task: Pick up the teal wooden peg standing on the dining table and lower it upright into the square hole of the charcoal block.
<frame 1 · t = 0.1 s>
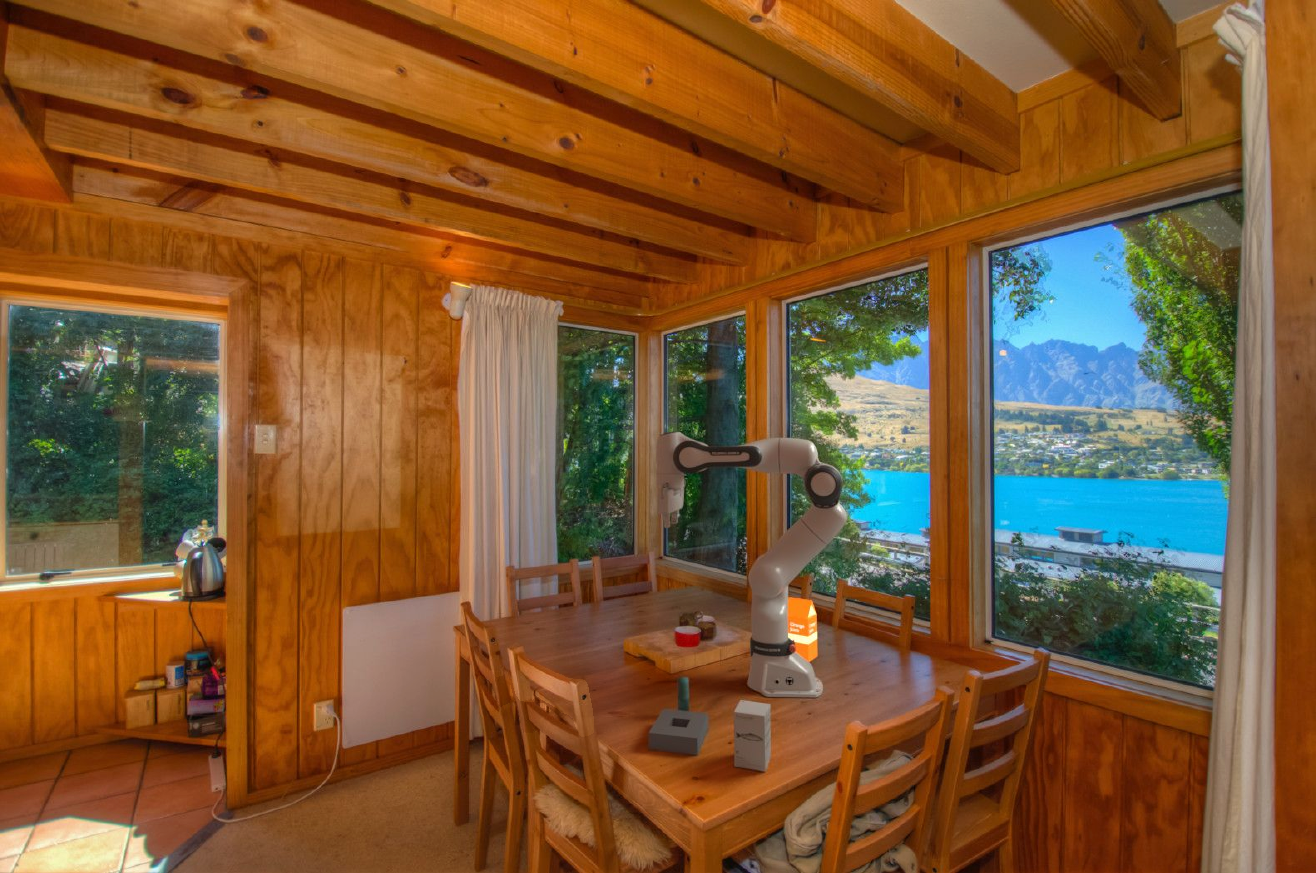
hand: (670, 525, 194), 48 cm above the table, tool pointing down, fingers open, 8 cm apart
teal peg: (683, 715, 165), on the table
hole block: (679, 738, 152), on the table
orange juice: (801, 657, 210), on the table
supplement box: (753, 763, 140), on the table
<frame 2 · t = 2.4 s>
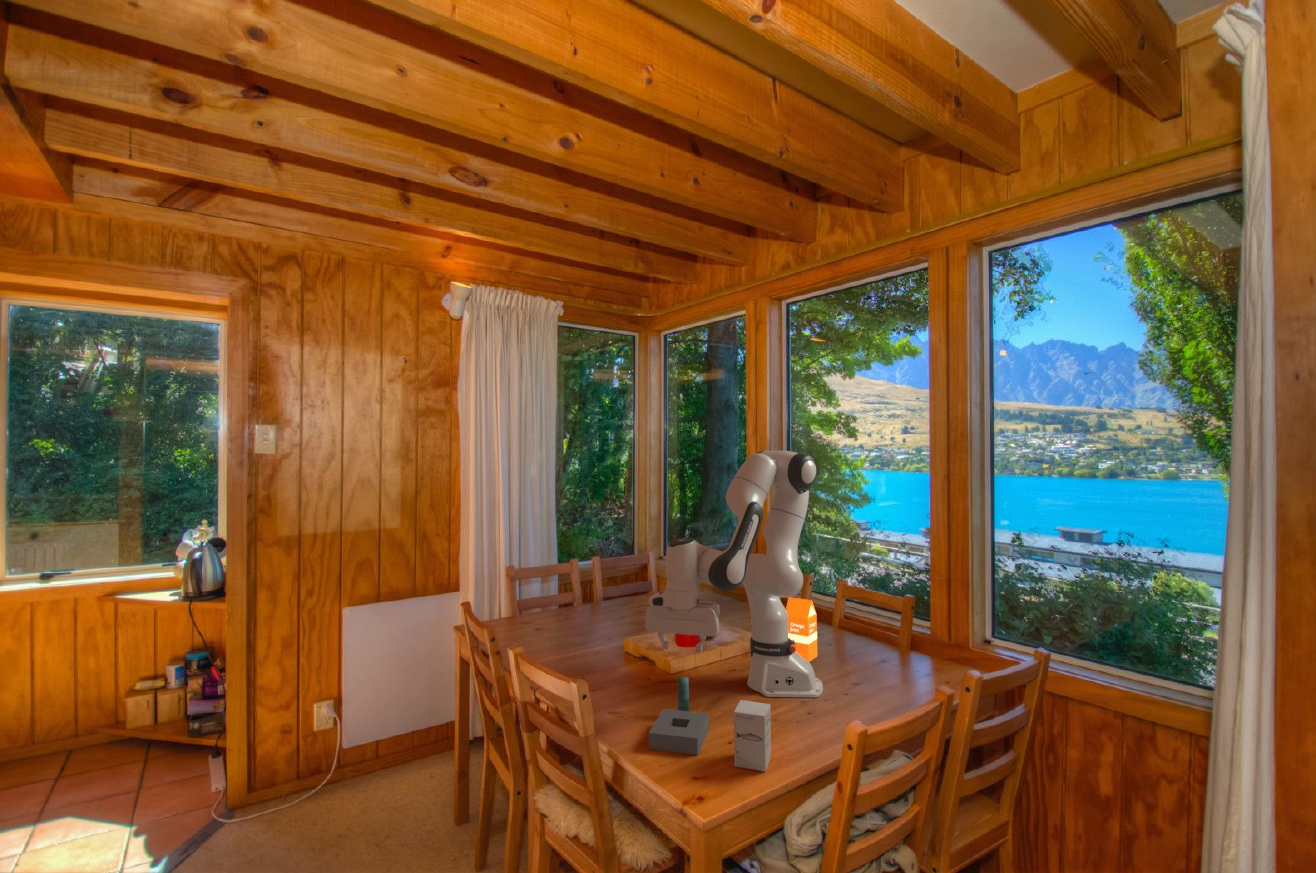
hand: (682, 649, 165), 18 cm above the table, tool pointing down, fingers open, 8 cm apart
nothing on the table moved.
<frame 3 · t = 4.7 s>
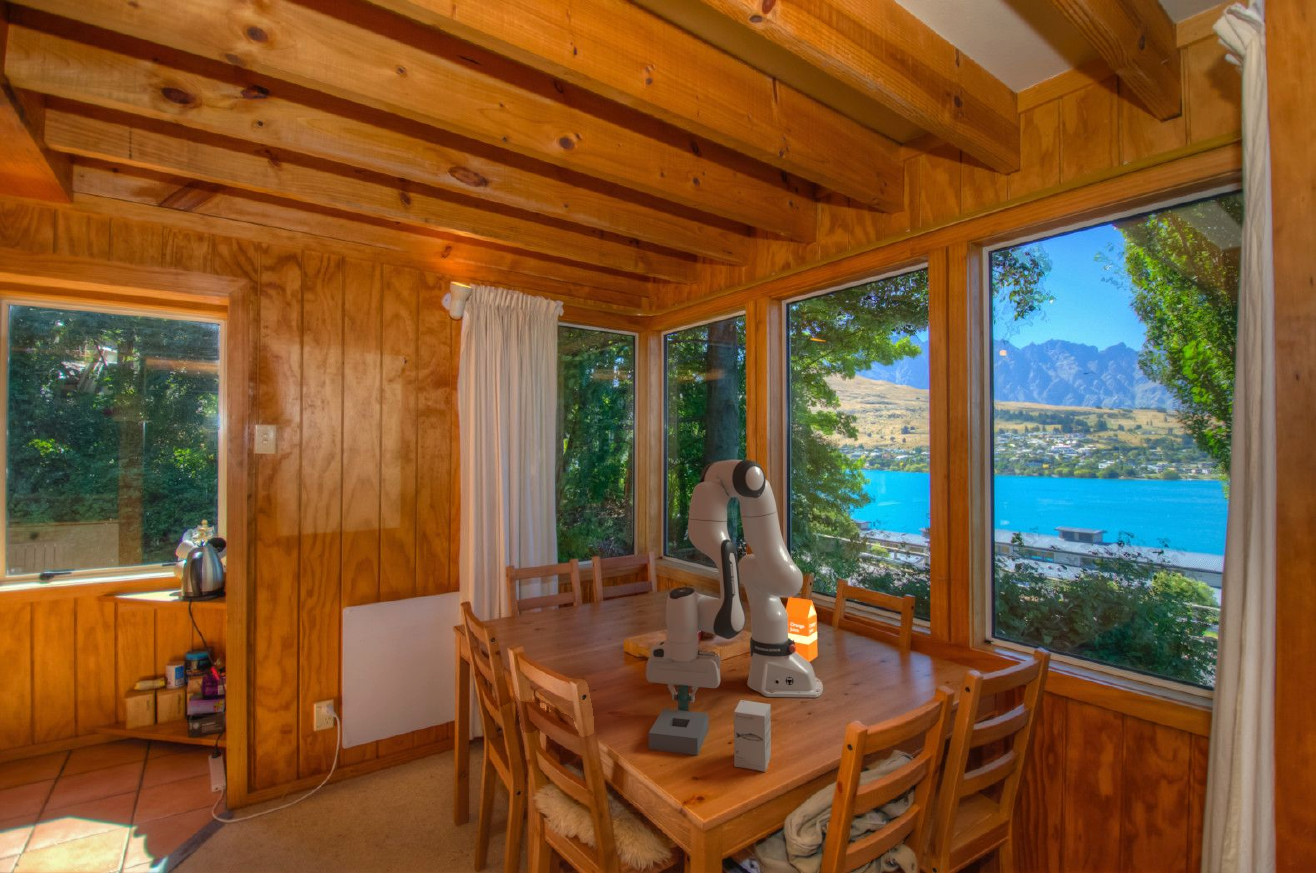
hand: (683, 700, 165), 4 cm above the table, tool pointing down, fingers closed on teal peg, 3 cm apart
teal peg: (683, 715, 165), on the table, touching gripper
everything else where it was.
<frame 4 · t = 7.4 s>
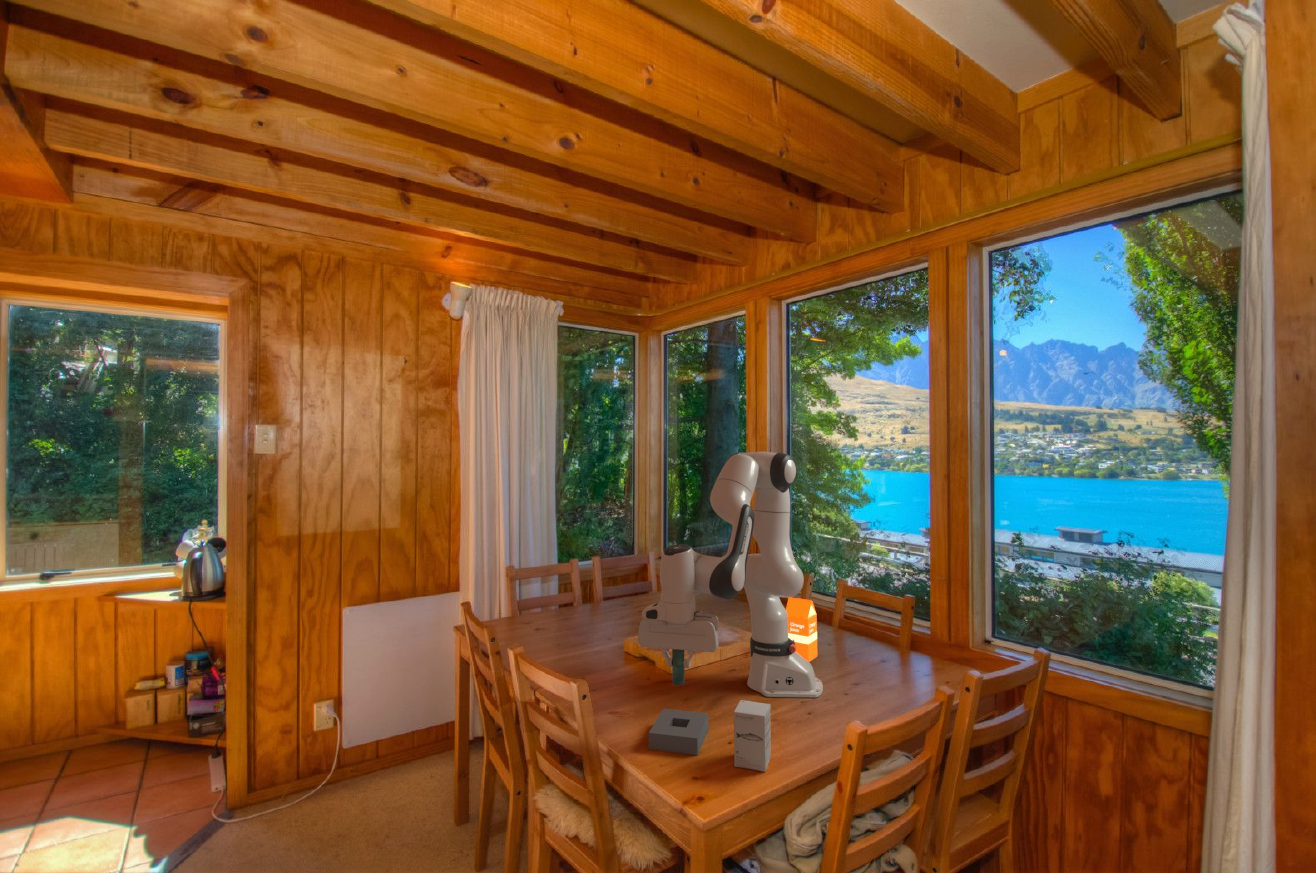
hand: (678, 666, 152), 18 cm above the table, tool pointing down, fingers closed on teal peg, 3 cm apart
teal peg: (678, 682, 152), point 14 cm above the table, touching gripper
everything else where it was.
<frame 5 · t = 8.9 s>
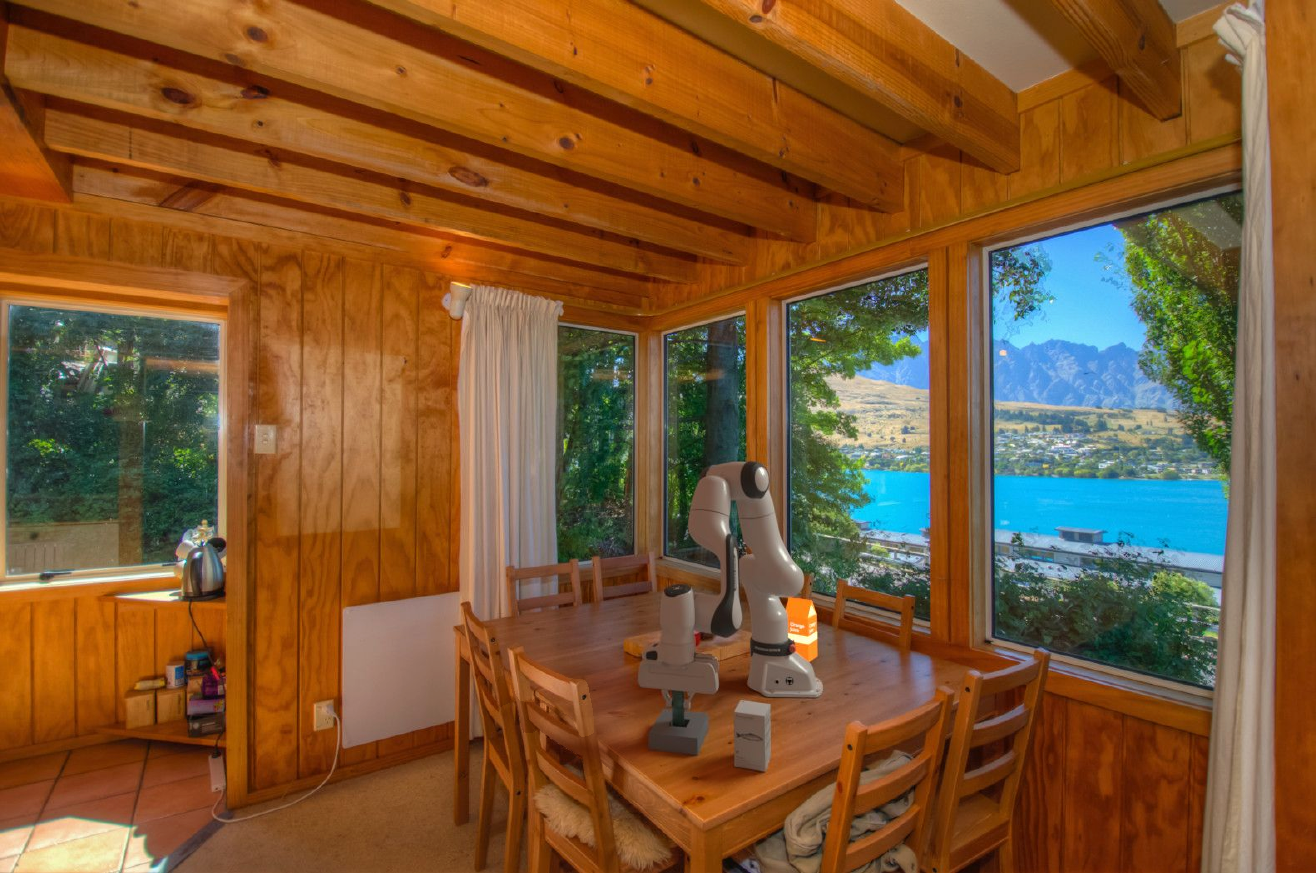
hand: (678, 707, 152), 8 cm above the table, tool pointing down, fingers closed on teal peg, 3 cm apart
teal peg: (678, 723, 152), point 4 cm above the table, touching gripper
everything else where it was.
when the fingers open (6 cm above the table, at t = 10.0 s): teal peg drops 1 cm, resting in hole block.
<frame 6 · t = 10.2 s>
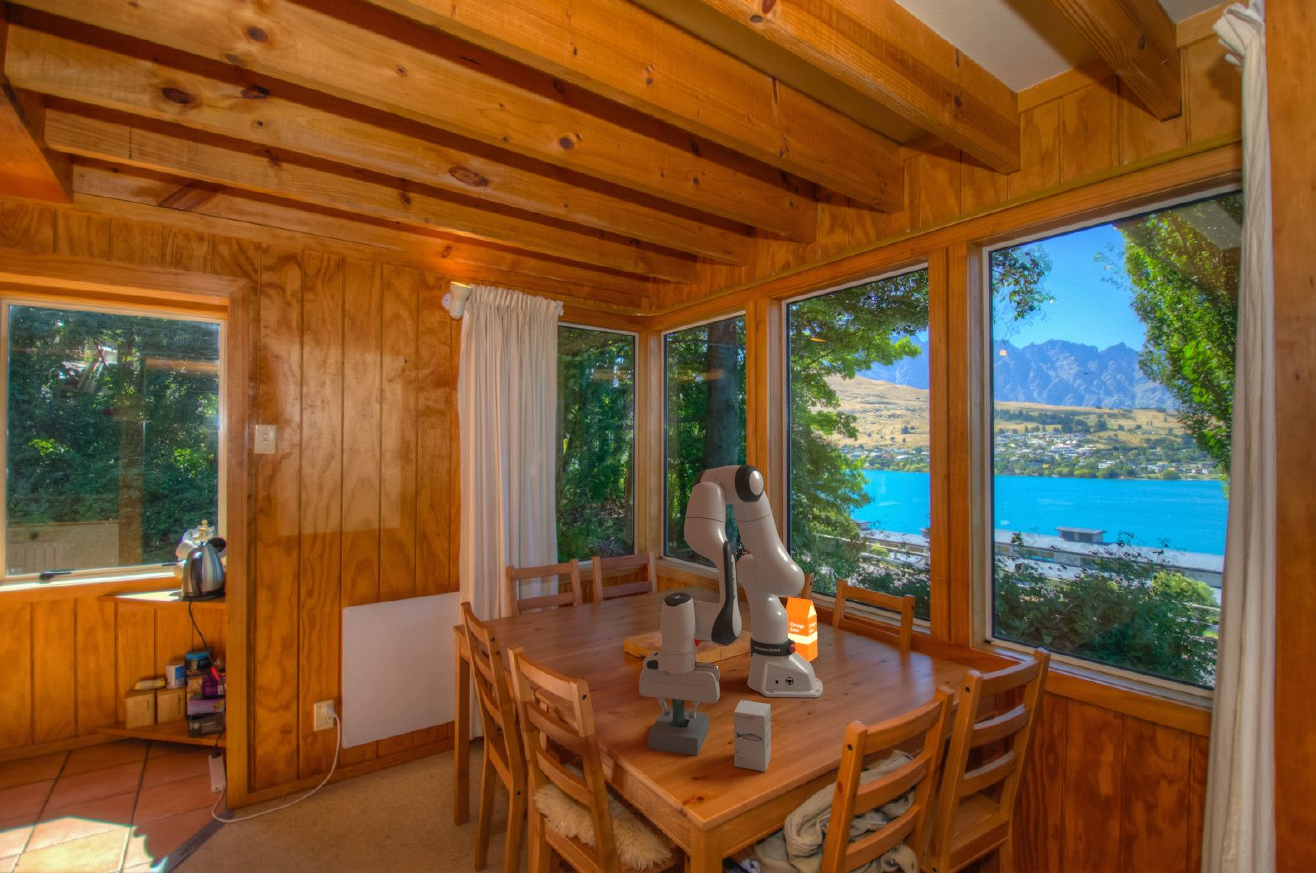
hand: (679, 716, 152), 6 cm above the table, tool pointing down, fingers open, 5 cm apart
teal peg: (680, 738, 152), resting in hole block
everything else where it was.
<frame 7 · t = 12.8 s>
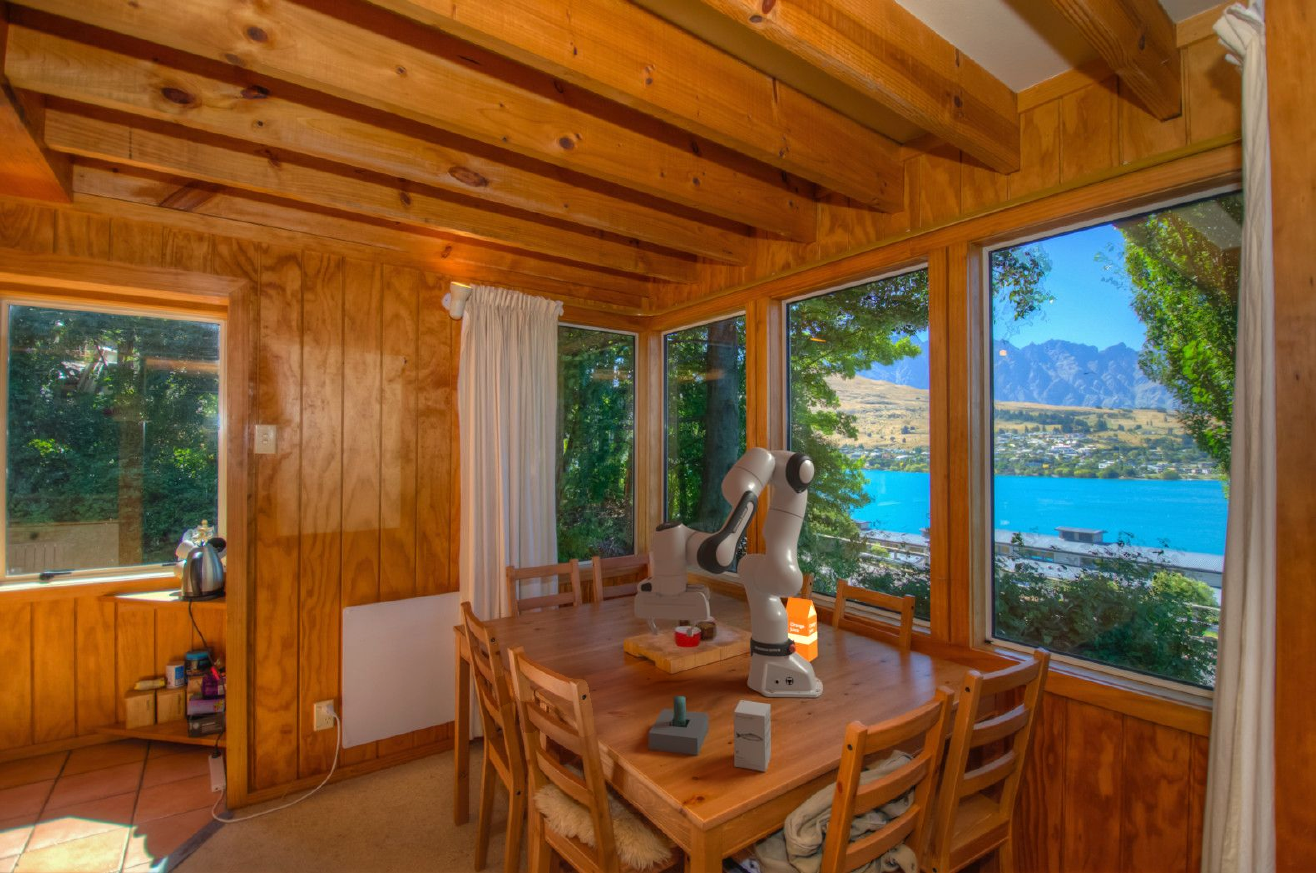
hand: (672, 635, 162), 23 cm above the table, tool pointing down, fingers open, 8 cm apart
nothing on the table moved.
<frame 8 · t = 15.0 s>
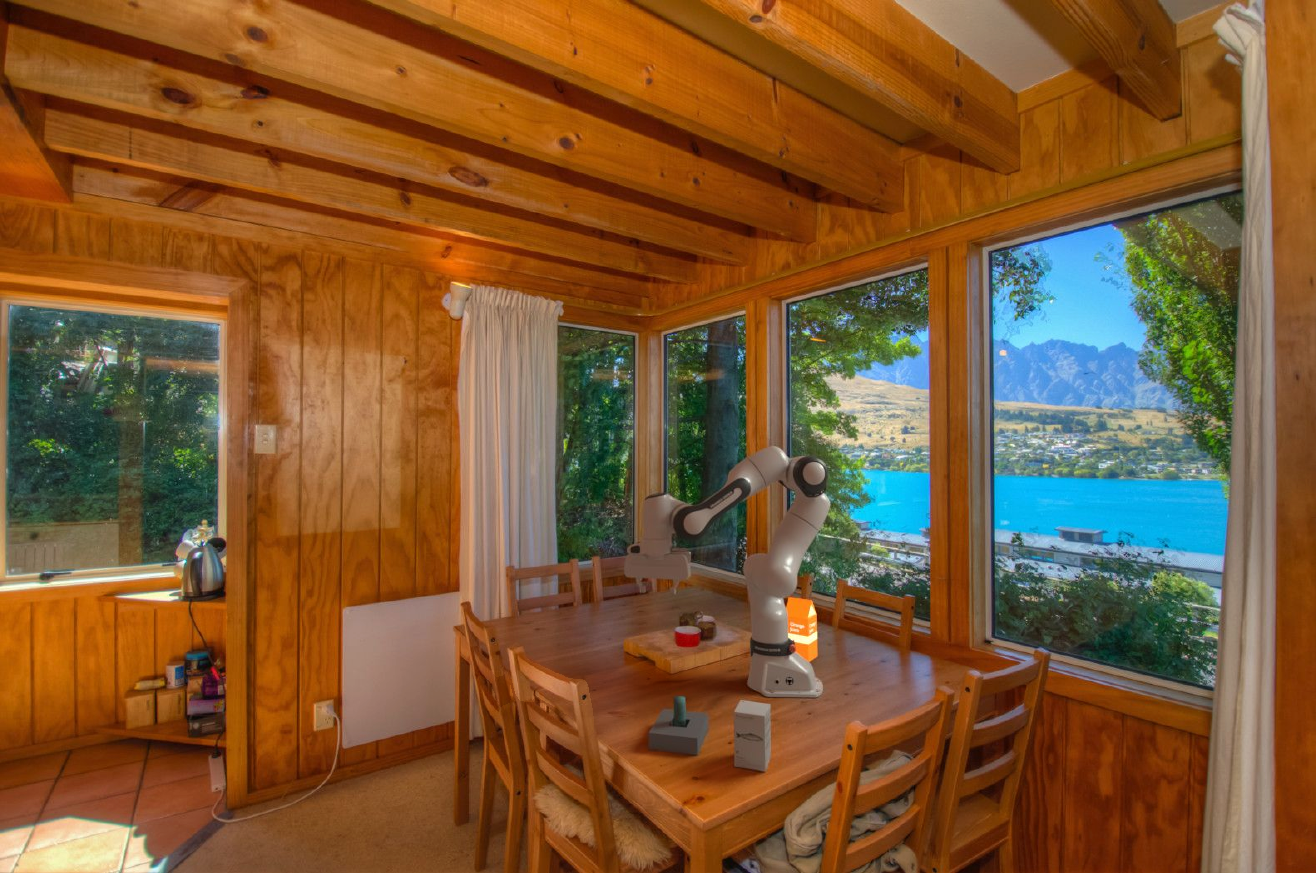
hand: (657, 593, 183), 29 cm above the table, tool pointing down, fingers open, 8 cm apart
nothing on the table moved.
at the end: teal peg 0.1 cm off-centre on the hole block, point 0.0 cm above the hole block's base; teal peg tilted 0°; the gripper is holding nothing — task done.
